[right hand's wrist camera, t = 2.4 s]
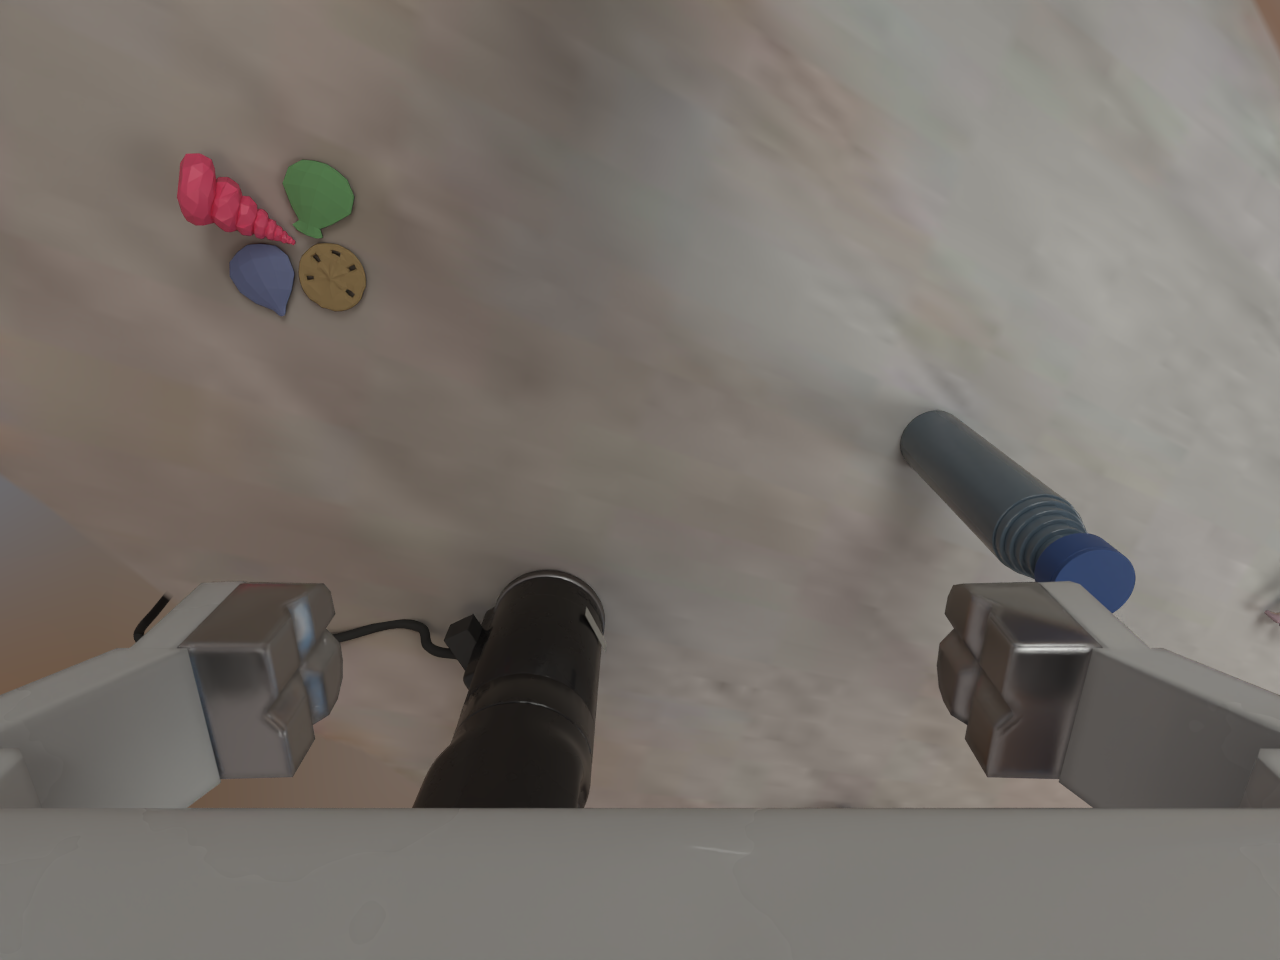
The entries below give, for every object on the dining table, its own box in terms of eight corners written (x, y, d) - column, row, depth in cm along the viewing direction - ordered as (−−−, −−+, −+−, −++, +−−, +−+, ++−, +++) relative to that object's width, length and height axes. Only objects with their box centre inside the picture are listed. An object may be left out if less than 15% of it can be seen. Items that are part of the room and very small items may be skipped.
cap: (1039, 534, 40) (1059, 551, 38) (1119, 530, 40) (1142, 547, 38) (1028, 603, 41) (1047, 623, 39) (1105, 599, 41) (1127, 619, 39)
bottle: (902, 412, 59) (1047, 540, 38) (967, 408, 59) (1148, 535, 38) (898, 472, 61) (1033, 626, 40) (961, 469, 61) (1130, 622, 40)
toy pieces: (193, 291, 55) (157, 300, 51) (204, 128, 51) (166, 123, 47) (359, 336, 57) (337, 348, 52) (381, 180, 53) (360, 180, 49)
